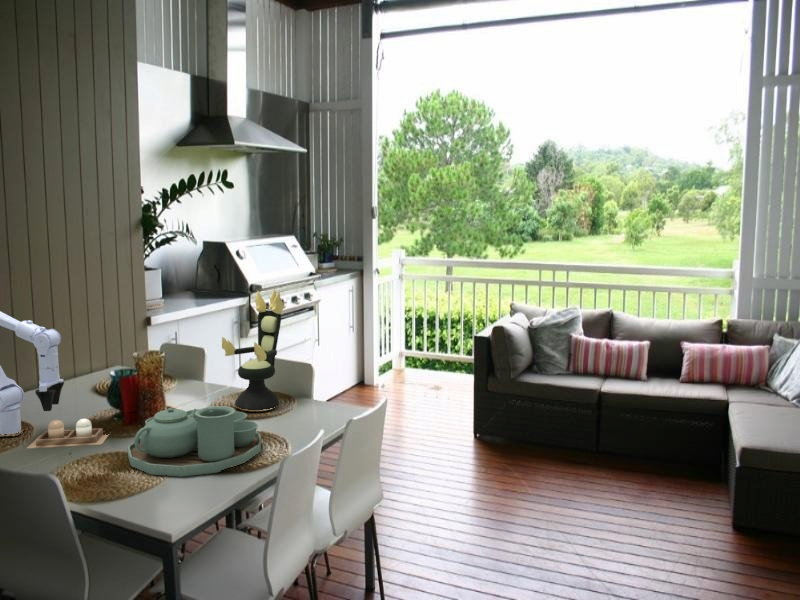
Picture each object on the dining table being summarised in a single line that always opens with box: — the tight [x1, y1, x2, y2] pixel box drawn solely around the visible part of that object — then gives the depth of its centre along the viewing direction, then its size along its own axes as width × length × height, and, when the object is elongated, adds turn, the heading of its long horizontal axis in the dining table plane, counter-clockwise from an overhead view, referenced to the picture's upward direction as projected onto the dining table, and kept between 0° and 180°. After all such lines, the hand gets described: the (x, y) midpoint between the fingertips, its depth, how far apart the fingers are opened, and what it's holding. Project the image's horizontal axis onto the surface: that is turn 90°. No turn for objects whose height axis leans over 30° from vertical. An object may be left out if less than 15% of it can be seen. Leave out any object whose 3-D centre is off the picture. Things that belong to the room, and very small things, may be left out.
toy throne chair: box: [221, 288, 284, 410], centre depth 254 cm, size 19×22×45 cm
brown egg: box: [47, 419, 65, 439], centre depth 213 cm, size 5×5×7 cm
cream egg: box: [75, 418, 93, 437], centre depth 215 cm, size 5×5×7 cm
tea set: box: [126, 405, 262, 478], centre depth 204 cm, size 40×40×16 cm
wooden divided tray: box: [25, 427, 110, 449], centre depth 214 cm, size 22×13×2 cm, turn 101°
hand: (51, 407), depth 218 cm, fingers open, 7 cm apart
